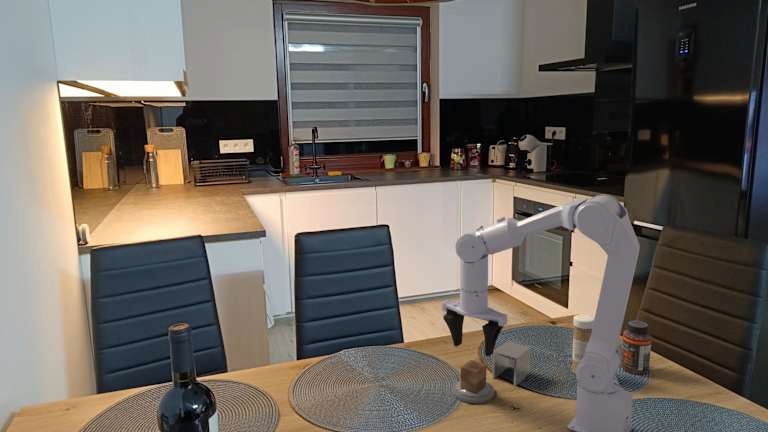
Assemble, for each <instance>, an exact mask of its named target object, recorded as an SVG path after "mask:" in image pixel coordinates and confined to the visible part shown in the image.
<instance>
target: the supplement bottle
mask: <svg viewBox="0 0 768 432" xmlns="http://www.w3.org/2000/svg"><path fill="white" fill-rule="evenodd" d="M648 325H649V324H648V323H646V322H644V321H642V320H630V321H629V322H628V326H627V329H625V330H624V331H623V334H622V343H621V344H622V347H621V355H620V356H621V365H620V367H621V368H622V369H623V370H624V371H625V372H627V373H629V374H633V375H644V374H647V373H648V372H649V370H650V361H651V360H650V359H651V351H652V350H651V347H652V335H651V333H650V332H649V331H648V329H649V327H648Z"/></svg>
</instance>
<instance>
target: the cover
mask: <svg viewBox="0 0 768 432" xmlns="http://www.w3.org/2000/svg"><path fill="white" fill-rule="evenodd" d="M531 350H532V349H531V347H530V346H527V345H523V344H519V343H516V342H513V341H509V340H507V341H506V342H504V343H503V344H501V345H500V346H498V347H496V348H494V351H493V354H492V371H491V373H492V374H491V376H492V377H491V378H492V379H496V378H497V377H498V376H499V374H500V373H501V374H503V371H504V370H505V371H506V370H508V369H509V368H510V360H513V361H514V362H513V386H515V387H516V386H518V385H519V384H520V383H521V382H522V381H524V379H525V377H526V376H527V375H528V376H529V375H530V374H531ZM508 367H509V368H508ZM505 371H504V372H505ZM501 374H500V375H501ZM528 376H527V377H528ZM527 377H526V378H527ZM520 381H521V382H520ZM519 382H520V383H519ZM518 383H519V384H518Z"/></svg>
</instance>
